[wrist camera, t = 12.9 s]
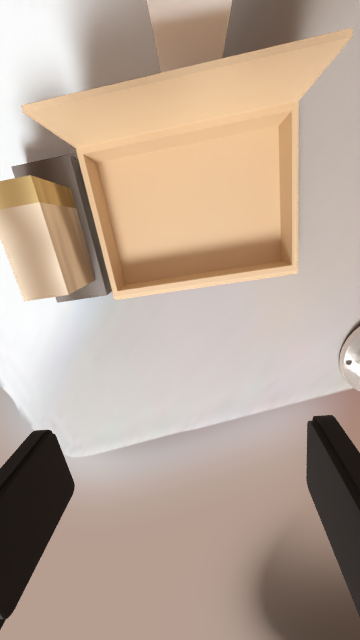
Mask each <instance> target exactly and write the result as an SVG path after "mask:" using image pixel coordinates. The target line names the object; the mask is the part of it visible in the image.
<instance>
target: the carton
mask: <svg viewBox="0 0 360 640" xmlns="http://www.w3.org/2000/svg"><path fill="white" fill-rule="evenodd" d="M352 34H353V28H350V29H345V30H341V31H337V32H333V33H328V34H324V35H320V36H315V37H311V38H307V39H303V40H298V41H294V42H290V43H286V44H281V45H277V46H273V47H269V48H264V49H260V50H256V51H252V52H247V53H243V54H239V55H235V56H230V57H226V58H222V59H218V60H213V61H209V62H205V63H201V64H196V65H192V66H188V67H184V68H179V69H175V70H171V71H167V72H162V73H158V74H154V75H149V76H145V77H141V78H137V79H132V80H128V81H124V82H120V83H115V84H111V85H107V86H103V87H98V88H94V89H90V90H86V91H81V92H77V93H73V94H69V95H64V96H60V97H56V98H52V99H47V100H43V101H39V102H35V103H30V104H26V105H22V106H21V107H22V110H23V113H24V114H26V115H27V116H29V117H30V118H32V119H33V120H35V121H36V122H38V123H39V124H41V125H42V126H44V127H45V128H46V129H48V130H49V131H51V132H52V133H54V134H55V135H57V136H58V137H60V138H61V139H63V140H64V141H66V142H67V143H69V144H70V145H71V146H73V147H74V148H76V152H77V156H78V160H79V164H80V168H81V172H82V175H83V179H84V183H85V187H86V191H87V195H88V199H89V203H90V207H91V210H92V214H93V218H94V222H95V226H96V230H97V234H98V238H99V241H100V245H101V249H102V253H103V257H104V261H105V265H106V269H107V273H108V276H109V280H110V284H111V288H112V292H113V296H114V300H118V299H125V298H132V297H138V296H145V295H152V294H159V293H166V292H173V291H180V290H187V289H194V288H201V287H208V286H215V285H221V284H228V283H235V282H242V281H249V280H256V279H263V278H270V277H277V276H284V275H291V274H297V273H298V130H299V100H300V99H301V98H302V96H303V95H304V94H305V93H306V92H307V90H308V89H309V88H310V87H311V86H312V84H313V83H314V82H315V81H316V80H317V78H318V77H319V76H320V75H321V74H322V72H323V71H324V70H325V69H326V68H327V66H328V65H329V64H330V63H331V62H332V60H333V59H334V58H335V57H336V56H337V54H338V53H339V52H340V51H341V50H342V48H343V47H344V46H345V45H346V44H347V42H348V41H349V40H350V39H351V38H352Z"/></svg>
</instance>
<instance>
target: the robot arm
mask: <svg viewBox="0 0 360 640" xmlns="http://www.w3.org/2000/svg"><path fill="white" fill-rule="evenodd" d="M339 364H340V370H341V373H342V375H343V377H344V378H345V380H346V381H347V382H348V383H349V384H350V385H351V386H352V387H353V388H355V389H357V390H358V391H360V326H359V327H358V328H357V329H356V330H355V331H353V332H352V334H351V335H350V336H349V337H348V339H347V340H346V342H345V344H344V345H343V347H342V350H341V353H340V360H339ZM307 485H308V489H309V491H310V494H311V497H312V499H313V501H314V504H315V506H316V509H317V511H318V514H319V516H320V518H321V521H322V524H323V526H324V529H325V531H326V534H327V536H328V539H329V541H330V544H331V546H332V549H333V551H334V554H335V556H336V559H337V561H338V564H339V566H340V569H341V571H342V574H343V576H344V579H345V581H346V584H347V586H348V588H349V591H350V594H351V596H352V599H353V601H354V603H355V606H356V609H357V611H358V614H359V616H360V453H359V451H358V450H357V449H356V447H355V446H354V444H353V443H352V441H351V440H350V439H349V437H348V436H347V434H346V433H345V431H344V430H343V428H342V427H341V426H340V424H339V423H338V421H337V420H336V419H335V417H334V416H332V415H326V416H314V417H313V420H312V421H308V425H307ZM73 491H74V481H73V479H72V476H71V474H70V471H69V468H68V466H67V463H66V461H65V458H64V455H63V453H62V450H61V448H60V445H59V443H58V440H57V437H56V435H55V434H53V433H52V431H50V430H37V431H33V432H32V433H31V434H30V435H29V436H28V437H27V438H26V440H25V441H24V442H23V443H22V444H21V445H20V446H19V448H18V449H17V450H16V451H15V452H14V454H13V455H12V456H11V457H10V458H9V459H8V460H7V462H6V463H5V464H4V465H3V466H2V467H1V468H0V629H1V627H2V625H3V623H4V622H5V620H6V619H7V618H8V617H9V616H10V615H11V614H12V613H13V611H14V609H15V607H16V605H17V603H18V601H19V599H20V597H21V595H22V593H23V591H24V590H25V587H26V586H27V584H28V582H29V580H30V577H31V576H32V573H33V572H34V570H35V567H36V566H37V564H38V562H39V560H40V558H41V556H42V554H43V552H44V550H45V548H46V546H47V544H48V542H49V540H50V538H51V536H52V534H53V532H54V530H55V528H56V526H57V524H58V522H59V520H60V518H61V516H62V514H63V512H64V510H65V508H66V507H67V504H68V503H69V501H70V499H71V497H72V495H73Z"/></svg>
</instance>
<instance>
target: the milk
mask: <svg viewBox="0 0 360 640" xmlns="http://www.w3.org/2000/svg"><path fill="white" fill-rule="evenodd" d="M147 5H148V10H149V15H150V19H151V24H152V29H153V34H154V39H155V44H156V49H157V54H158V59H159V64H160V69H161V73H162V72H167V71H171V70H175V69H179V68H184V67H188V66H192V65H196V64H201V63H205V62H209V61H213V60H218V59H222V58H223V52H224V46H225V40H226V35H227V29H228V23H229V18H230V12H231V6H232V0H147Z"/></svg>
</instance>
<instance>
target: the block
mask: <svg viewBox="0 0 360 640" xmlns="http://www.w3.org/2000/svg"><path fill="white" fill-rule="evenodd" d="M0 239H1V241H2V244H3V247H4V249H5V252H6V255H7V257H8V260H9V262H10V265H11V268H12V270H13V273H14V275H15V278H16V281H17V283H18V286H19V289H20V291H21V294H22V296H23V299H24V301H29V300H36V299H43V298H50V297H57V296H64V295H69V294H71V293H73V292H75V291H76V290H78V289H80V288H82V287H84V286H86V285H88V284H90V283H91V282H93V281H95V280H96V279H95V275H94V272H93V268H92V264H91V261H90V257H89V253H88V250H87V246H86V242H85V239H84V235H83V231H82V228H81V224H80V220H79V217H78V213H77V209H76V206H75V202H74V198H73V195H72V191H71V188H68V187H65V186H62V185H59V184H56V183H53V182H50V181H47V180H44V179H41V178H38V177H35V176H32V175H29V176H24V177H19V178H14V179H9V180H4V181H0Z"/></svg>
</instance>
